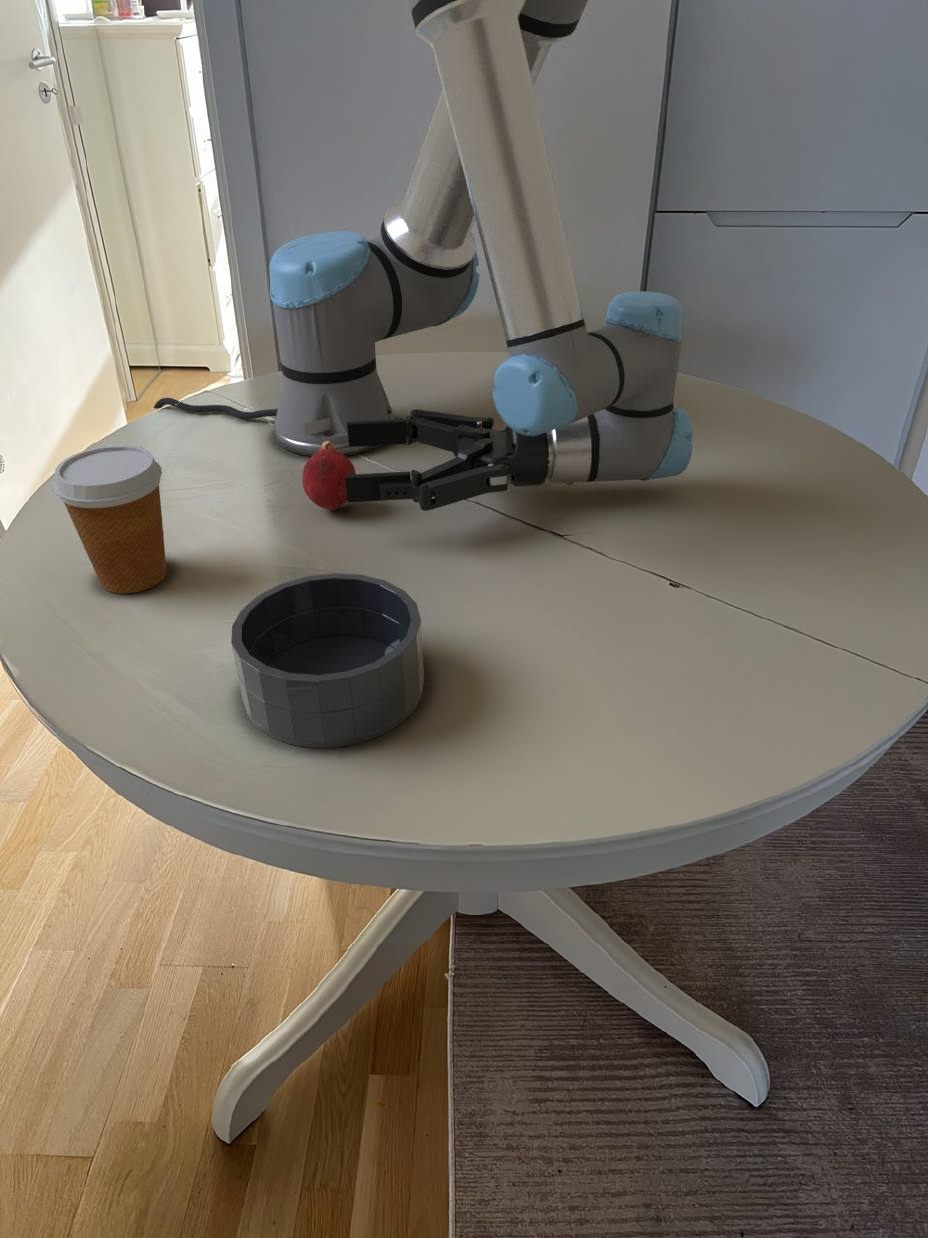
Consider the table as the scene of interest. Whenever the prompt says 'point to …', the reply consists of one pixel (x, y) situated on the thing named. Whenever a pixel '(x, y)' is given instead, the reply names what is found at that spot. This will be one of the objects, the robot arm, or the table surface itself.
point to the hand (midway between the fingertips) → (346, 460)
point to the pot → (329, 659)
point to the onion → (327, 477)
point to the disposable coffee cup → (116, 514)
